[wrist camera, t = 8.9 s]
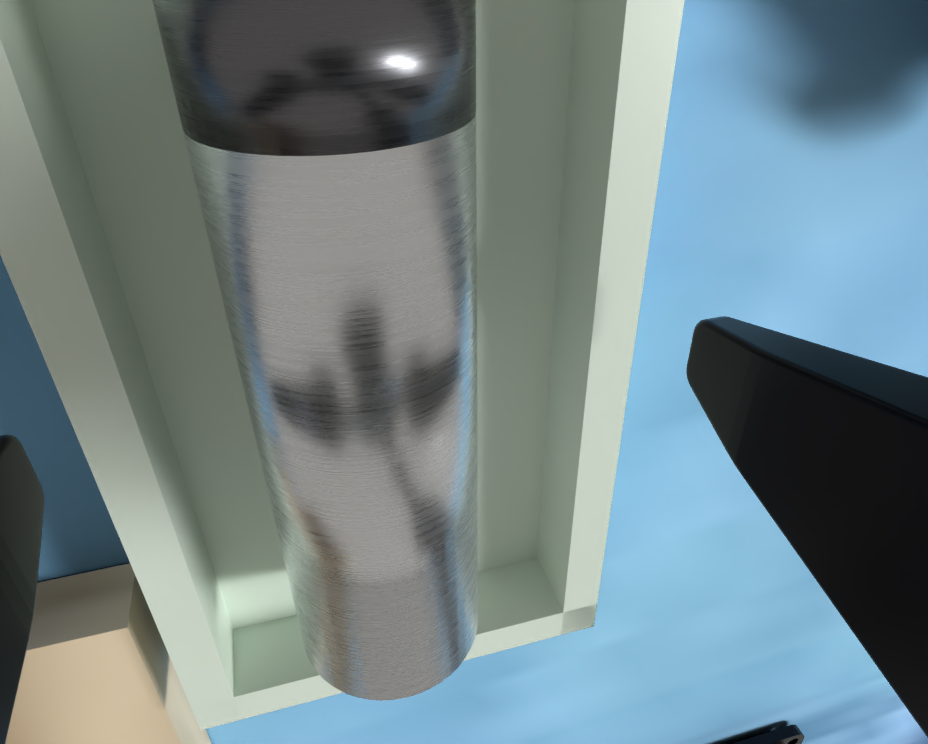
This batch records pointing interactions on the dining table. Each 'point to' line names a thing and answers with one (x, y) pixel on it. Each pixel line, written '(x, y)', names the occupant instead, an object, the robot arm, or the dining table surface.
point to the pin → (350, 305)
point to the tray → (211, 347)
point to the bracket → (99, 668)
